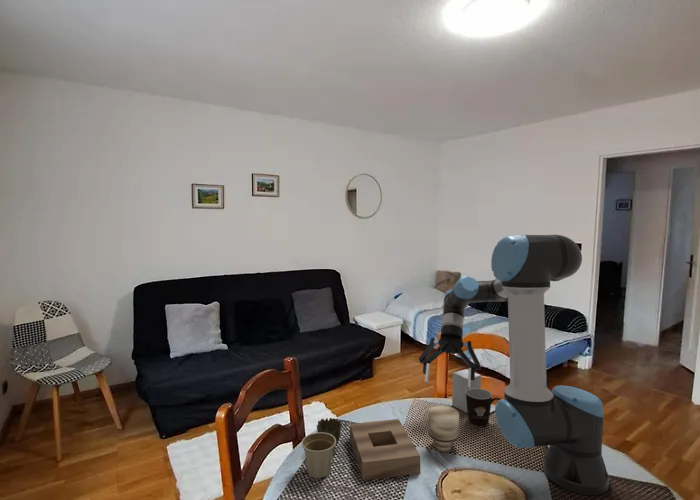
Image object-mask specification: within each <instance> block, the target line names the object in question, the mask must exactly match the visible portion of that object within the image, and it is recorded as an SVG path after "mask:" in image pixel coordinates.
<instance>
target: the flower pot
mask: <svg viewBox="0 0 700 500" xmlns="http://www.w3.org/2000/svg"><path fill="white" fill-rule="evenodd" d="M335 444H336V439H335V437H334V436H333V435H331V434H329V433H322V432H314V433H309V434H308V435H306V436H304V437H303V439H302V440H301V447H302V448H303V451H304V453H305V460H306V466H307V468H306V469H307V472H308V475H309V476H310V477H312V478H313V479H321V478H323V477H324V478H325V477H328V476H329V475H330V473H331V469H332V464H333V463H332V462H333V456H334V455H333V454H334V450H335V449H334V446H335V447H336V445H337V444H336V445H335ZM333 449H334V450H333Z"/></svg>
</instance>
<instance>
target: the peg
mask: <svg viewBox="0 0 700 500" xmlns="http://www.w3.org/2000/svg"><path fill="white" fill-rule="evenodd" d="M427 414H428V416H427V417H428V418H427V420H428V421H427V422H428V423H427V424H428V425H427V426H428V427H427V430H428V431H427V434H428V436H429V438H431V439H432V440H433V444H434V447H435V450H436V451H438V452H440V453H449V452H451V451H452V446H454V442H457V441H458V440H459V438H460V413H459V411H458V410H457V409H455V408H454V407H451V406H446V405H434V406H432V407H430V408H429V409H428V412H427Z"/></svg>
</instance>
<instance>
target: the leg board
mask: <svg viewBox="0 0 700 500" xmlns="http://www.w3.org/2000/svg"><path fill="white" fill-rule="evenodd" d="M349 441H350V445H351V447H352V450H353V451H352V452H354V456H355V460H356V463H357V466H358V469H359V472H360V476H361V479H362V481H368V480H377V479H385V478H393V477H400V476H401V477H402V476H408V475H418V474H421V454H420V453H419V452H420V451H418V449H417V447H416V446H415V444H414V443H413V441H412V439H411V437H410V435H409V434H408V432H407V431H406V429H405V427H404V426H403V424H402V422H401V421H400V419H399V418H396V419H395V418H394V419H384V420H377V421H374V420H373V421H366V422H356V423H349Z"/></svg>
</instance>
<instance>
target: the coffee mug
mask: <svg viewBox="0 0 700 500" xmlns="http://www.w3.org/2000/svg"><path fill="white" fill-rule="evenodd" d="M501 399H502V398H500V397H493V393H492V392H491V391H490V390H487V389H484V388H481V389H480V388H471V389H470V391H468V389H467V390H466V401H467V410H468V412H467V418H468V423H469V422H470V423H471V424H470V423H469V424H470V425H472V424H473V425H472V426H474V425H477V426H476V427H478V426H484V427H486V425H487V426H488V425H489V422H490V416H492V415H493V414H496V413H495V410H493V411H491V406H492V404H493V402H494V401H496V400H497V401H499V400H501Z"/></svg>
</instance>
